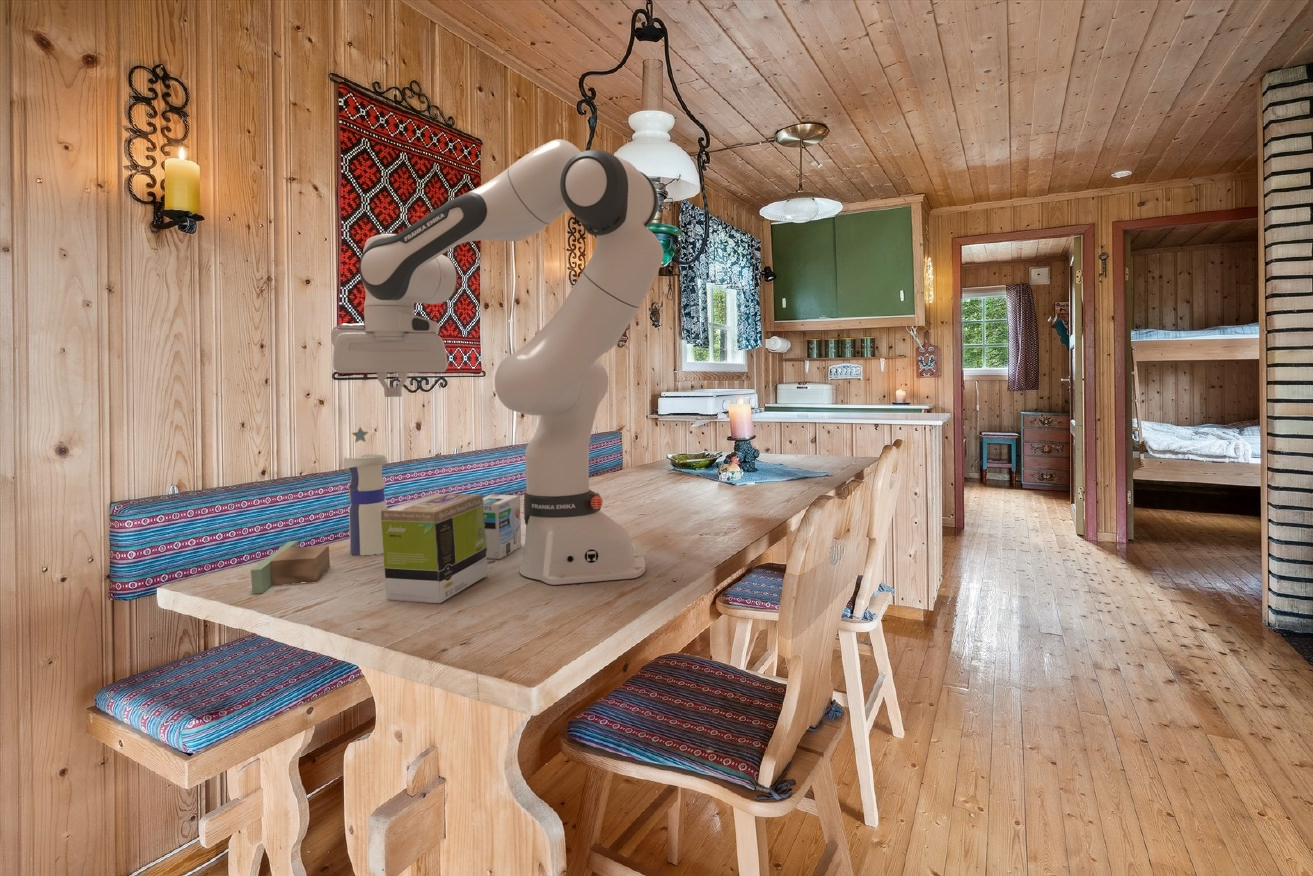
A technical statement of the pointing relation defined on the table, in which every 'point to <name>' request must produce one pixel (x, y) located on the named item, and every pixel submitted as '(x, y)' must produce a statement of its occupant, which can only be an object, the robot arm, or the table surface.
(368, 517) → the water bottle
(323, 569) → the walnut block
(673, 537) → the table surface
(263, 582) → the green board
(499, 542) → the light bulb box
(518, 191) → the robot arm
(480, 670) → the table surface
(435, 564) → the tea box
